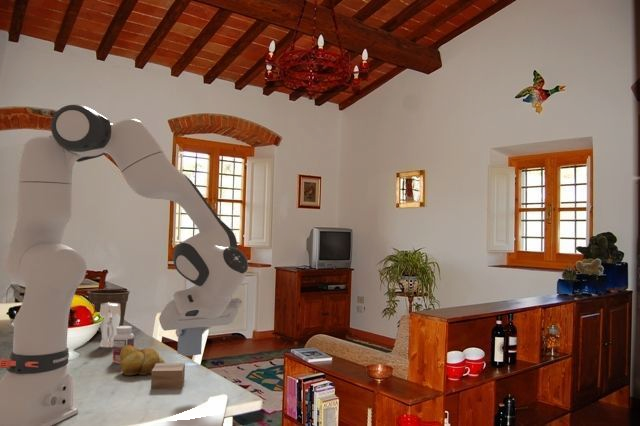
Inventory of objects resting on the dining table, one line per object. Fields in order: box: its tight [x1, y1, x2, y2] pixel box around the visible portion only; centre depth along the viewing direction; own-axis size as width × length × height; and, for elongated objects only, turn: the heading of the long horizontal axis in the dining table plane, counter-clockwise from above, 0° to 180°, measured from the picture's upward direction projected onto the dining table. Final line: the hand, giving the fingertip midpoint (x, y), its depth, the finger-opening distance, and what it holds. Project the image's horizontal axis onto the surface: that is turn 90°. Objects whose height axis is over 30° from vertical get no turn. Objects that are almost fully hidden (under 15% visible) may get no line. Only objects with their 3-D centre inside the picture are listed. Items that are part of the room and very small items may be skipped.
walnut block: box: [150, 362, 186, 390], centre depth 144 cm, size 8×8×5 cm
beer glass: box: [99, 303, 121, 349], centre depth 187 cm, size 7×7×15 cm
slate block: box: [176, 327, 203, 357], centre depth 137 cm, size 4×4×9 cm
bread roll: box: [120, 345, 166, 376], centre depth 154 cm, size 13×10×8 cm
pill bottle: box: [112, 325, 135, 365], centre depth 166 cm, size 6×6×11 cm
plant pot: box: [87, 288, 131, 334], centre depth 214 cm, size 16×16×16 cm
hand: (189, 333), depth 137 cm, fingers closed on slate block, 4 cm apart
